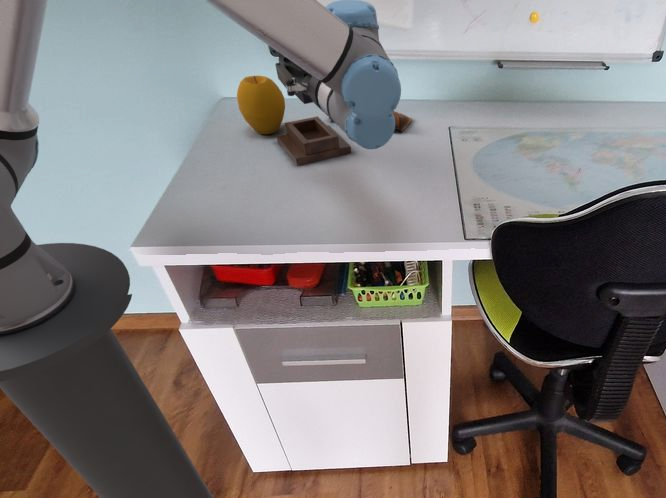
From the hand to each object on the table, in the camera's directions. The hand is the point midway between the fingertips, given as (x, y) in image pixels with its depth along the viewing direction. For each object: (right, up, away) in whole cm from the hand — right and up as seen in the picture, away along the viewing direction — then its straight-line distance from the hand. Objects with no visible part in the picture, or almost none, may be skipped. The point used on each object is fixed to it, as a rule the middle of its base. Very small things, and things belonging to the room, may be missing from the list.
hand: (290, 54), depth 106 cm
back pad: (+3, -8, +1) cm, 8 cm away
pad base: (+2, -15, +10) cm, 18 cm away
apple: (-10, -9, +15) cm, 20 cm away
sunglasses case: (+12, -4, +21) cm, 25 cm away
